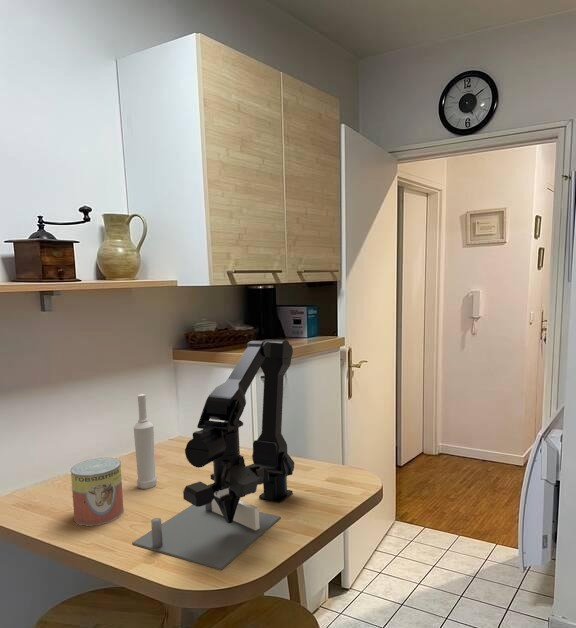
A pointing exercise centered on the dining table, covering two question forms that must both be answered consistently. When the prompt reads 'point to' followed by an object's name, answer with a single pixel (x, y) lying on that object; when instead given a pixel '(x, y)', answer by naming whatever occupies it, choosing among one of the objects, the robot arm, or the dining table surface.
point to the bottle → (144, 447)
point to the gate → (240, 513)
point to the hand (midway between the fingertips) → (229, 522)
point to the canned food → (97, 491)
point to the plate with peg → (203, 536)
